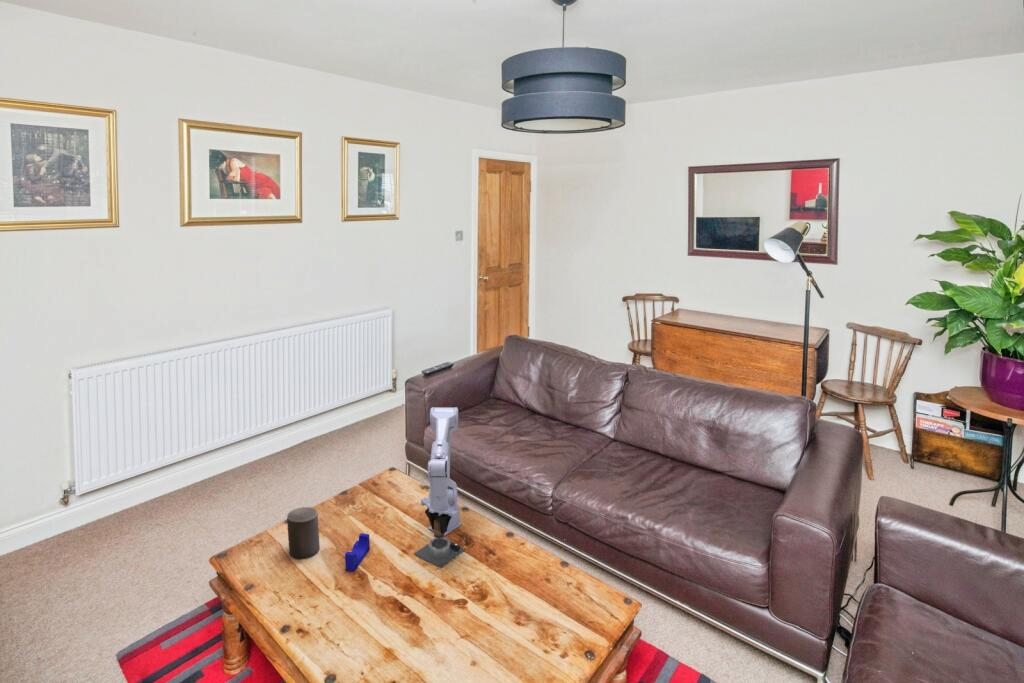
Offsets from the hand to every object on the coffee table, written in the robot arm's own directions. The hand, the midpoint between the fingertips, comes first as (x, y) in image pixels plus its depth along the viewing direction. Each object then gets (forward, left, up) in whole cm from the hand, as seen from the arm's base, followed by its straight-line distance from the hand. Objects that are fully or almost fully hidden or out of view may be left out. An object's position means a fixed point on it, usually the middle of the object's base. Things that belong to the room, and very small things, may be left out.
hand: (439, 530), depth 196 cm
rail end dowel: (0, 0, -2) cm, 2 cm away
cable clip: (+19, -20, -9) cm, 29 cm away
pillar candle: (+26, -37, -9) cm, 46 cm away
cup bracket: (0, 0, -8) cm, 8 cm away
